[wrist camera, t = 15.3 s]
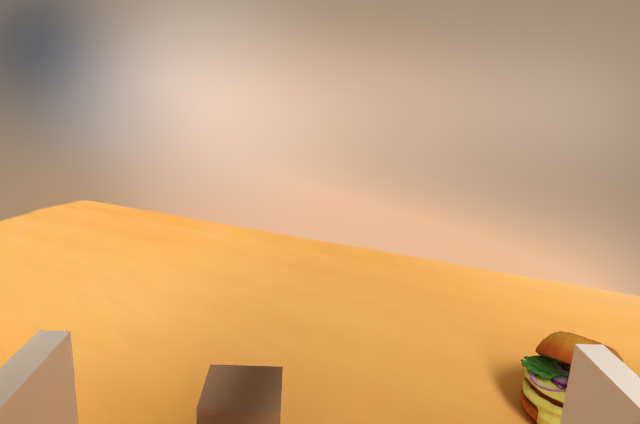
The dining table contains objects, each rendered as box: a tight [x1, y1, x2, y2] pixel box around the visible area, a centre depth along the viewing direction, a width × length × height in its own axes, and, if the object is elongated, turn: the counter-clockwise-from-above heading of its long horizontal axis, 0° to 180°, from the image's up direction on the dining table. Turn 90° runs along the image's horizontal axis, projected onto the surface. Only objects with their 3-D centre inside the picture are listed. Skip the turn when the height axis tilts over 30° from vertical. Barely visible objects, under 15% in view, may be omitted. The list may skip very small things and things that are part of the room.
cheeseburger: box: [521, 331, 624, 424], centre depth 55 cm, size 10×11×10 cm
